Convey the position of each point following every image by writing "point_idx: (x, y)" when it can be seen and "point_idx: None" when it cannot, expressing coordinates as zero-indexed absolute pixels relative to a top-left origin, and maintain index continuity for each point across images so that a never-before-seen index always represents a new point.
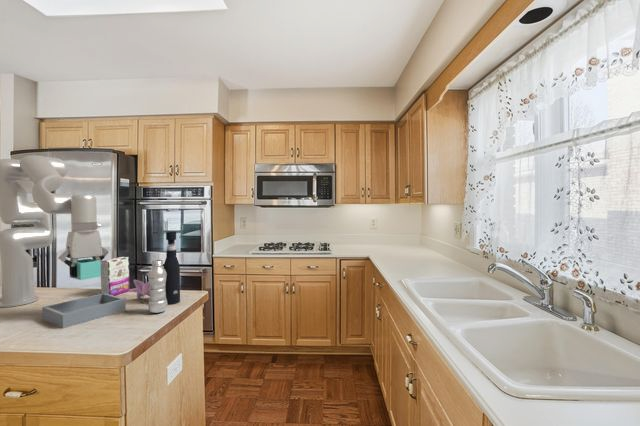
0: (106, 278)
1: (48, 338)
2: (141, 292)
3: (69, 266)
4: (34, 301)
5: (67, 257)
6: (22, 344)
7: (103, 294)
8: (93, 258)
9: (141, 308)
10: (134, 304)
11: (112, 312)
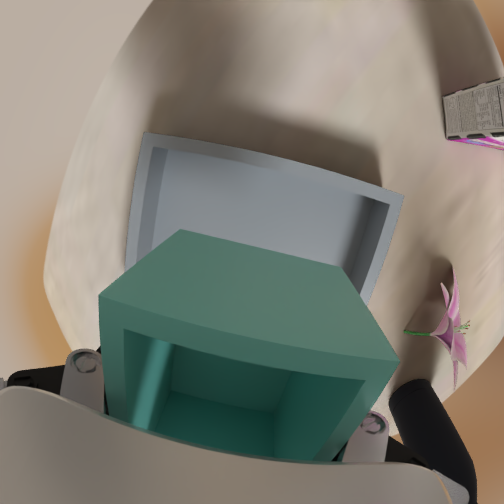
0: (498, 118)
1: (97, 323)
2: (439, 327)
3: (89, 359)
4: None
5: (20, 394)
6: (61, 297)
7: (387, 212)
8: (340, 460)
9: None
10: (391, 316)
11: None
